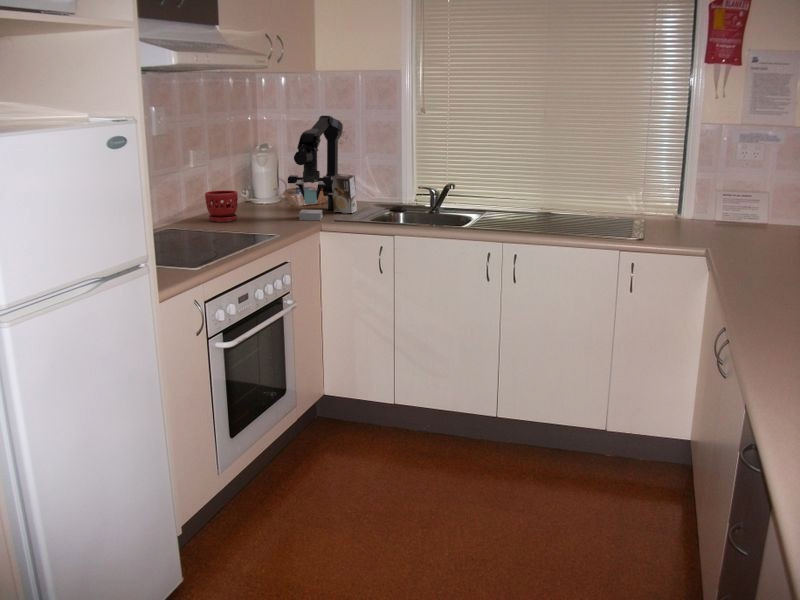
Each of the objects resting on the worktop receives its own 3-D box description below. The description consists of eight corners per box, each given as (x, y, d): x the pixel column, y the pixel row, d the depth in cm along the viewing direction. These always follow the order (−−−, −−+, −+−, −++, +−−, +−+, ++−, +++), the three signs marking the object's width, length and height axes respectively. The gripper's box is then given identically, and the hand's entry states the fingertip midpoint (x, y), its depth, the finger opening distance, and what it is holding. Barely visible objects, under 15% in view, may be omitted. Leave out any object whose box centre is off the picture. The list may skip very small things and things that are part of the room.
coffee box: (357, 209, 360) (355, 175, 353) (352, 214, 354) (350, 179, 347) (338, 208, 362) (336, 173, 356) (333, 212, 357) (330, 177, 350)
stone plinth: (301, 216, 346) (301, 209, 345) (322, 216, 346) (322, 210, 345) (299, 220, 337) (299, 213, 336) (320, 220, 337) (320, 213, 337)
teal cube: (305, 201, 342) (305, 189, 341) (317, 201, 342) (317, 190, 341) (304, 203, 337) (304, 191, 336) (316, 203, 338) (316, 191, 336)
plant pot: (242, 218, 339) (241, 189, 336) (233, 223, 327) (232, 194, 323) (212, 217, 340) (211, 188, 337) (201, 222, 328) (200, 193, 325)
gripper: (285, 164, 328) (286, 202, 332) (331, 165, 328) (331, 203, 332) (289, 161, 338) (289, 198, 343) (333, 162, 339) (333, 199, 343)
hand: (310, 200), depth 340 cm, fingers closed on teal cube, 5 cm apart
